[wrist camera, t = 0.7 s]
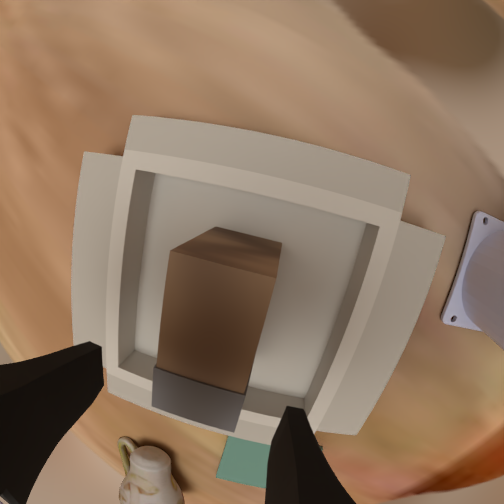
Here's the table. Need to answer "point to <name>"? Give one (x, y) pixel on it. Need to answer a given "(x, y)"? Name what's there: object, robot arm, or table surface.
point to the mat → (244, 462)
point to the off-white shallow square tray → (289, 270)
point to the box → (213, 324)
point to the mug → (147, 476)
